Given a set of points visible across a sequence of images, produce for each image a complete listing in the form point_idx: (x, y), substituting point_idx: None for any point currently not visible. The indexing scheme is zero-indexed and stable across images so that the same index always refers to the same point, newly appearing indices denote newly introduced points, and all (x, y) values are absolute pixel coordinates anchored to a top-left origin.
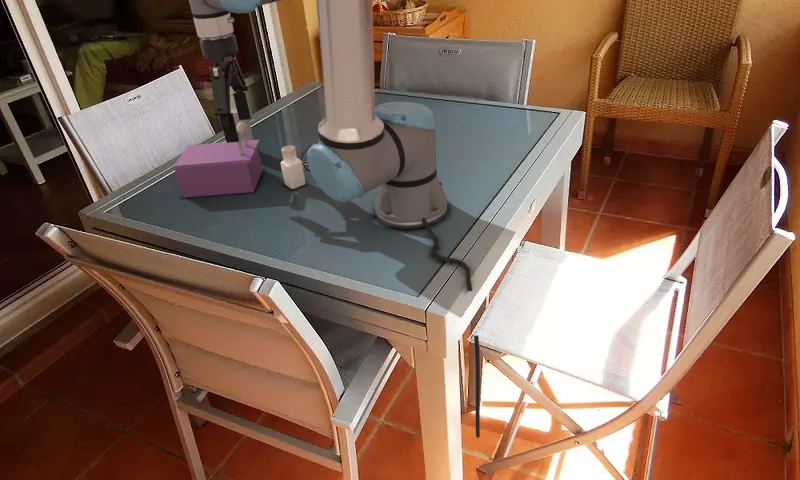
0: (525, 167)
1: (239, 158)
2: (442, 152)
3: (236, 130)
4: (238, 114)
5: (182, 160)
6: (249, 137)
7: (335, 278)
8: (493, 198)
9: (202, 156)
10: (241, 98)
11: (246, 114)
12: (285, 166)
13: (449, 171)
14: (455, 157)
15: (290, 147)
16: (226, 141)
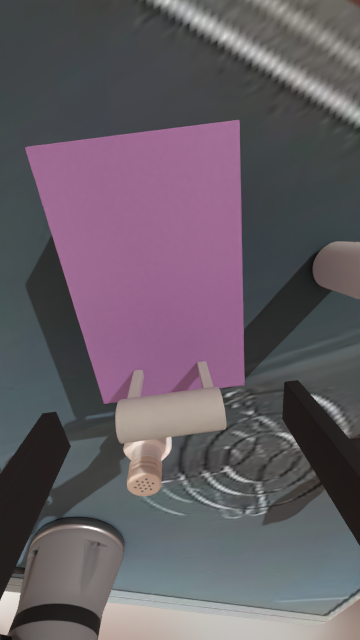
0: (189, 603)
1: (109, 375)
2: (243, 548)
3: (46, 490)
4: (297, 402)
5: (80, 168)
6: (349, 295)
7: None
8: (118, 590)
9: (120, 246)
10: (351, 510)
11: (294, 427)
12: (127, 445)
13: (186, 558)
14: (225, 559)
15: (147, 488)
16: (39, 419)
